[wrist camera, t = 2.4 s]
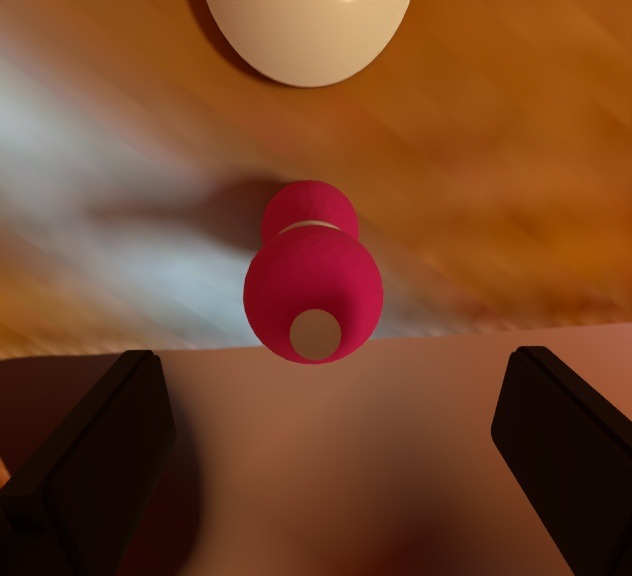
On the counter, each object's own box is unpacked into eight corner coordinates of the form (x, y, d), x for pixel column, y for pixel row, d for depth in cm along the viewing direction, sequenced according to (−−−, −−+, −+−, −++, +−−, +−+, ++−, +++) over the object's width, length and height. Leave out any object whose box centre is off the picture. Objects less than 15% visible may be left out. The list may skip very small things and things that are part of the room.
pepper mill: (295, 272, 31) (282, 459, 13) (250, 204, 29) (153, 315, 10) (365, 232, 30) (461, 377, 12) (324, 157, 27) (363, 190, 9)
